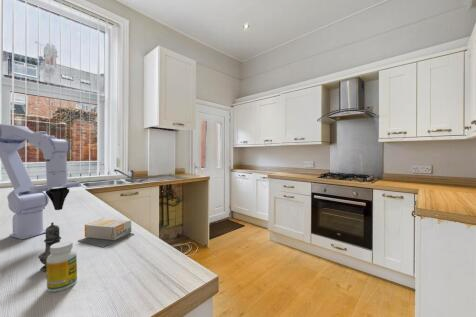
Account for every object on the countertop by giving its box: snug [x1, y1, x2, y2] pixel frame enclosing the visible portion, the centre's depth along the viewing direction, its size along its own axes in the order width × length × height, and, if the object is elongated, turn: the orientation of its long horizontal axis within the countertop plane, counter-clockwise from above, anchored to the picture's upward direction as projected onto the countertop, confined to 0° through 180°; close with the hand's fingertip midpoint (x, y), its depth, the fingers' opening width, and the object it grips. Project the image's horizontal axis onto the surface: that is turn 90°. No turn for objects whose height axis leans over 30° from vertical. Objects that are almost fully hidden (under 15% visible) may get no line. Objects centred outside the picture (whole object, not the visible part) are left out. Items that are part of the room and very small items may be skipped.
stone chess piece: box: [37, 222, 62, 273], centre depth 57 cm, size 6×6×12 cm
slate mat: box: [77, 232, 135, 248], centre depth 77 cm, size 13×12×1 cm
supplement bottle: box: [46, 240, 78, 293], centre depth 49 cm, size 5×5×10 cm
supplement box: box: [84, 218, 132, 240], centre depth 79 cm, size 8×5×13 cm
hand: (58, 209), depth 77 cm, fingers closed
